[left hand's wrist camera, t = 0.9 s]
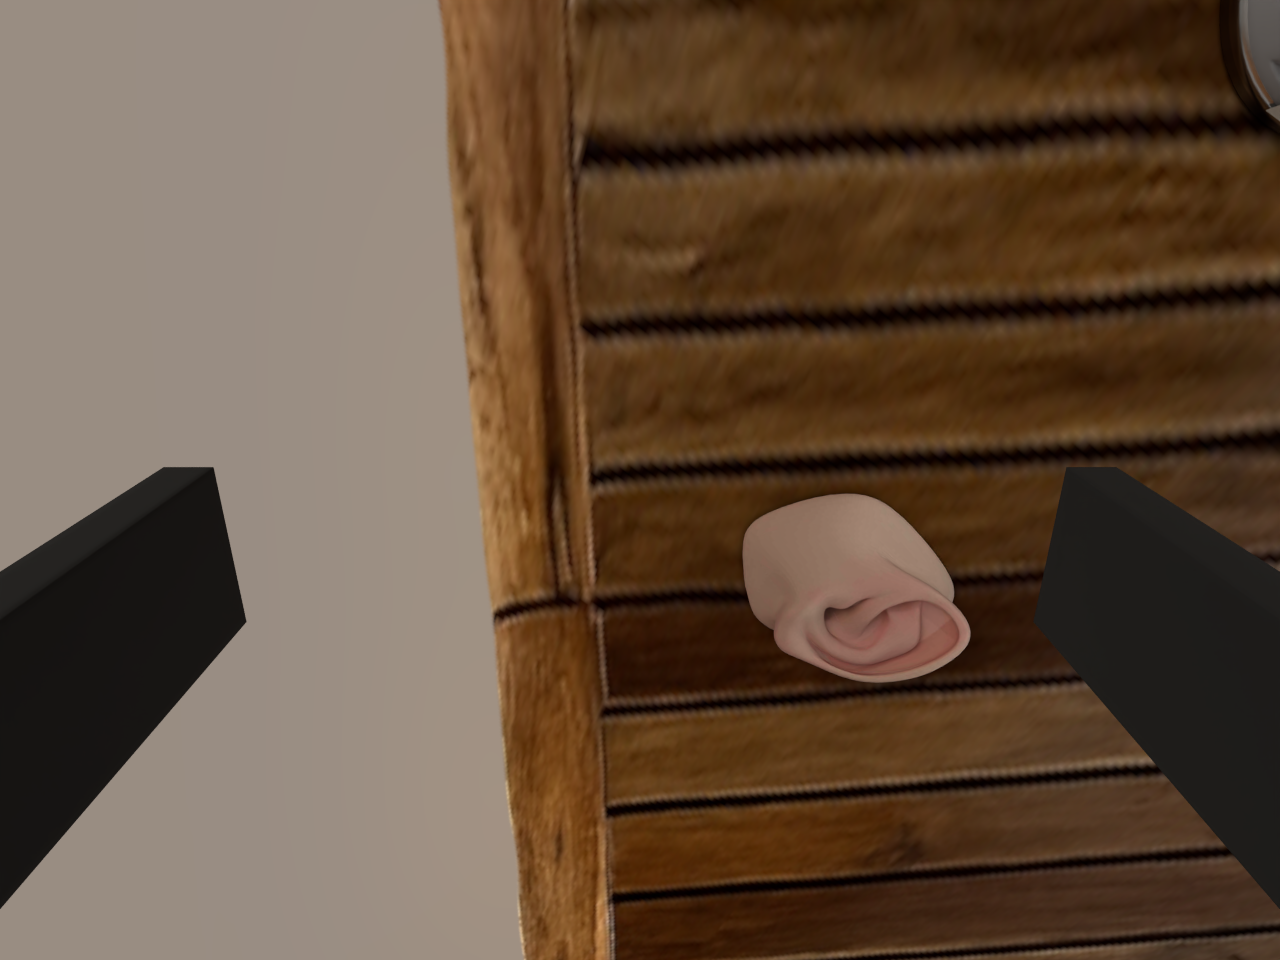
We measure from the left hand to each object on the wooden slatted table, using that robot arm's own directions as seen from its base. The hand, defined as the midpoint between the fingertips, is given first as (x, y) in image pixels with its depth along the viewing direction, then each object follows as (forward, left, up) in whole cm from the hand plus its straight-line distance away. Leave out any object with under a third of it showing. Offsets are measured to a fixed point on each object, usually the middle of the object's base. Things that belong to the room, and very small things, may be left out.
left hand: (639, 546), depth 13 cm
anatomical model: (-11, +20, -32) cm, 39 cm away
